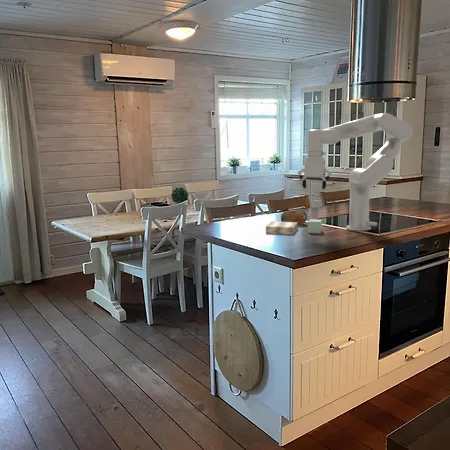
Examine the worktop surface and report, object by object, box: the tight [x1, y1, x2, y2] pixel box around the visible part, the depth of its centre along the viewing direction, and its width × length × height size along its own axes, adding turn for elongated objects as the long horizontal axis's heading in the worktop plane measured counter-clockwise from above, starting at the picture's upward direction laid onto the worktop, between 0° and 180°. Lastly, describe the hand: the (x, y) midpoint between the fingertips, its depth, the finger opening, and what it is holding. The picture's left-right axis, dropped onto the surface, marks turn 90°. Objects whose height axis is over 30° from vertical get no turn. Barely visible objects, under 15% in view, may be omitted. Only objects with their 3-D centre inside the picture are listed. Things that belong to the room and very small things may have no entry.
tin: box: [280, 209, 308, 226], centre depth 260 cm, size 15×3×8 cm, turn 105°
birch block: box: [265, 221, 299, 235], centre depth 244 cm, size 14×14×4 cm
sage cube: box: [307, 218, 323, 234], centre depth 240 cm, size 6×6×6 cm
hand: (314, 188), depth 238 cm, fingers open, 9 cm apart
